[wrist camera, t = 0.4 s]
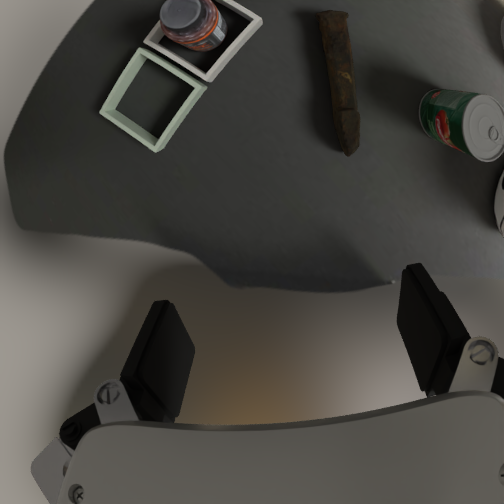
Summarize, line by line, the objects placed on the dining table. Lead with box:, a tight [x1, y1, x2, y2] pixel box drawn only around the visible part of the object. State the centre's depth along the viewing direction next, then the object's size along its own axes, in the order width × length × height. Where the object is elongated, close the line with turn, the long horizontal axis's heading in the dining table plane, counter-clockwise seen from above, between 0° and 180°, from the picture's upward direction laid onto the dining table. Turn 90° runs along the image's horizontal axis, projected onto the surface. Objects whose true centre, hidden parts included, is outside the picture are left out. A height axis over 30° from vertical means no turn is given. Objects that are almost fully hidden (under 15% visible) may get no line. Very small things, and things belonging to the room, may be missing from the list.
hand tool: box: [315, 10, 360, 156], centre depth 29 cm, size 19×4×5 cm, turn 6°
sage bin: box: [99, 47, 207, 153], centre depth 32 cm, size 10×10×3 cm
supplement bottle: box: [160, 0, 227, 52], centre depth 23 cm, size 6×6×11 cm
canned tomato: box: [419, 89, 504, 162], centre depth 26 cm, size 8×8×11 cm
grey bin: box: [143, 0, 263, 82], centre depth 27 cm, size 10×10×3 cm
